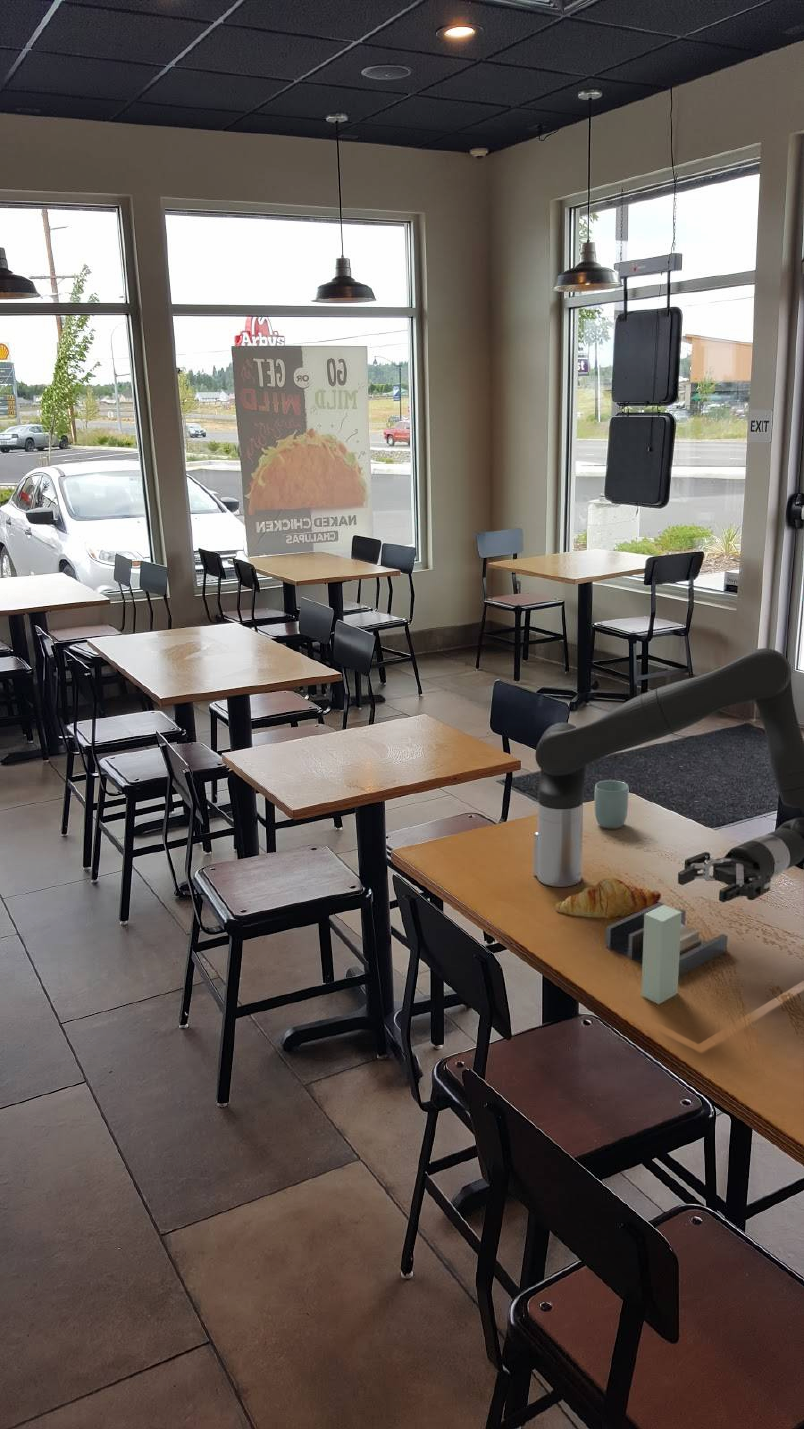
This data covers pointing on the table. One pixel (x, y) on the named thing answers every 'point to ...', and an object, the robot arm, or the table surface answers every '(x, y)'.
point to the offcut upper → (688, 937)
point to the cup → (611, 803)
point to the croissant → (608, 900)
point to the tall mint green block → (661, 954)
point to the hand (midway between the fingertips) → (700, 887)
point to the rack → (630, 935)
